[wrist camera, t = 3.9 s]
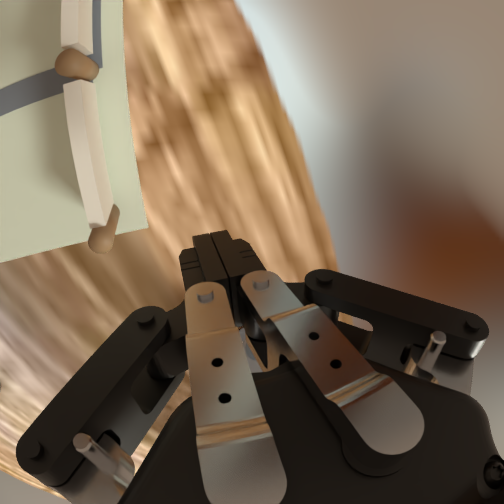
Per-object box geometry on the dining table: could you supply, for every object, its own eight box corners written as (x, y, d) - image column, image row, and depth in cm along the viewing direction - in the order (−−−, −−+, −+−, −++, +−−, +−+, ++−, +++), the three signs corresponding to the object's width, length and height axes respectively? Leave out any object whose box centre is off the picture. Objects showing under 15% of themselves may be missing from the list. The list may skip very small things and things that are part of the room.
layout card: (-3, 262, 22) (-4, 264, 21) (-37, 2, 8) (-39, 2, 7) (148, 226, 26) (148, 228, 25) (125, -62, 12) (125, -64, 11)
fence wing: (77, 88, 17) (56, 85, 13) (99, 82, 18) (83, 77, 13) (102, 224, 23) (92, 256, 19) (121, 220, 24) (115, 251, 19)
